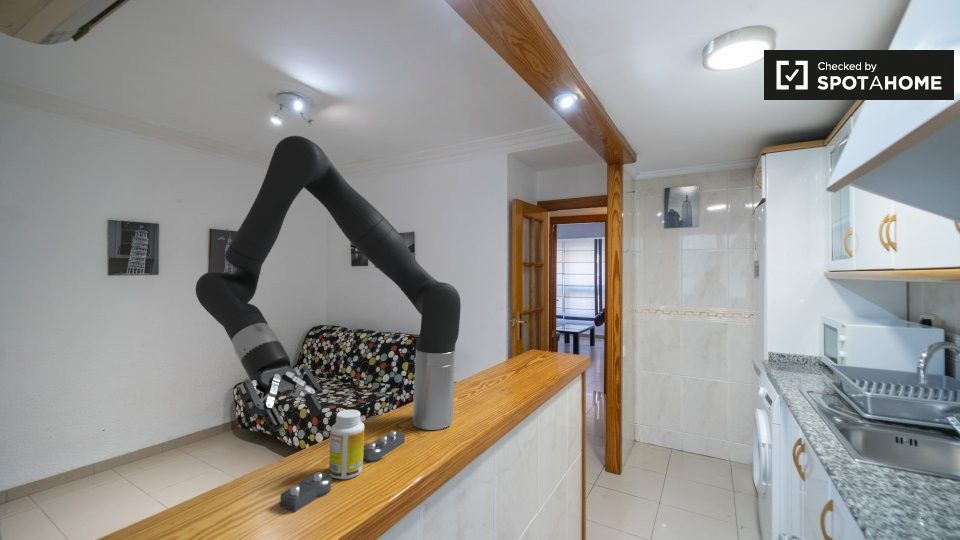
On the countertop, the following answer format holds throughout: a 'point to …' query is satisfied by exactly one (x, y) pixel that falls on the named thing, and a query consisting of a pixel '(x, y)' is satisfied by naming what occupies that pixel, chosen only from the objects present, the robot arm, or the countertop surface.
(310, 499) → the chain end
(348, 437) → the supplement bottle
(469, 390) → the countertop surface
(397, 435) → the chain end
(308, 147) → the robot arm
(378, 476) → the countertop surface
